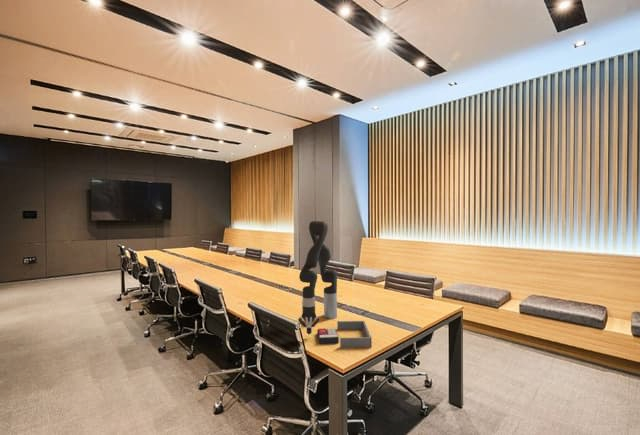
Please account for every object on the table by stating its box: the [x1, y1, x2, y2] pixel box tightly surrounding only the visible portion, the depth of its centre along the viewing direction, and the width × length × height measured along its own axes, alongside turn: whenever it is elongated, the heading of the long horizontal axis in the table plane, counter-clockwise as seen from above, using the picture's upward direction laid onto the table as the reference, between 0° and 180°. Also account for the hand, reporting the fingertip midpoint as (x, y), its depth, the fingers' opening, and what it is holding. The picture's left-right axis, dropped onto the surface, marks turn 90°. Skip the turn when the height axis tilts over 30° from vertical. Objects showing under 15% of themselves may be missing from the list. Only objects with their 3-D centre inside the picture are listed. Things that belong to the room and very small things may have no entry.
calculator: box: [316, 327, 340, 345], centre depth 175 cm, size 11×4×15 cm
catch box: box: [336, 320, 373, 349], centre depth 176 cm, size 26×17×5 cm, turn 0°
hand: (309, 333), depth 176 cm, fingers closed
